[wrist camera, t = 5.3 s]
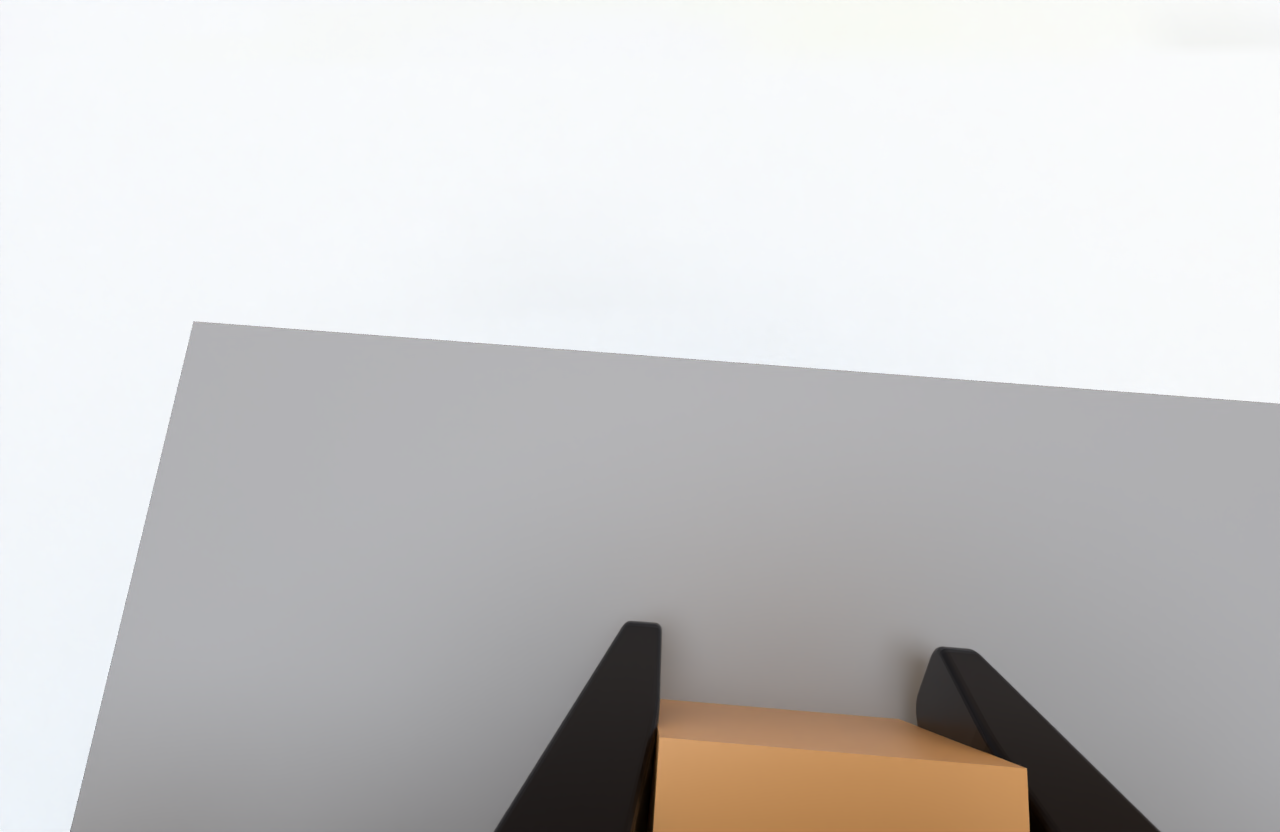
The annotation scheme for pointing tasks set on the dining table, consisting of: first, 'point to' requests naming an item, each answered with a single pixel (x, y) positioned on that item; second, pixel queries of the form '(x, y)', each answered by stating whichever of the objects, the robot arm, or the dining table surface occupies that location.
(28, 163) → the dining table surface
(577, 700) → the robot arm
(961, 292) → the dining table surface
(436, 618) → the lid
